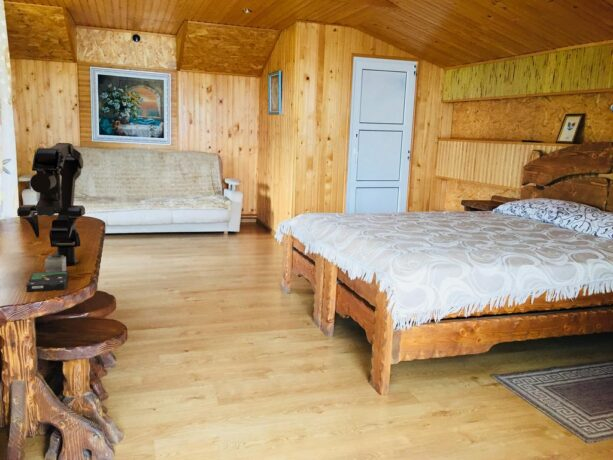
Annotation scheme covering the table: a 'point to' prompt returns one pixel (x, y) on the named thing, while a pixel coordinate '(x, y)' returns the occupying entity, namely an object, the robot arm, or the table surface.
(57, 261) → the housing
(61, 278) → the disk drive
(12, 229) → the table surface
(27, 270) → the table surface
